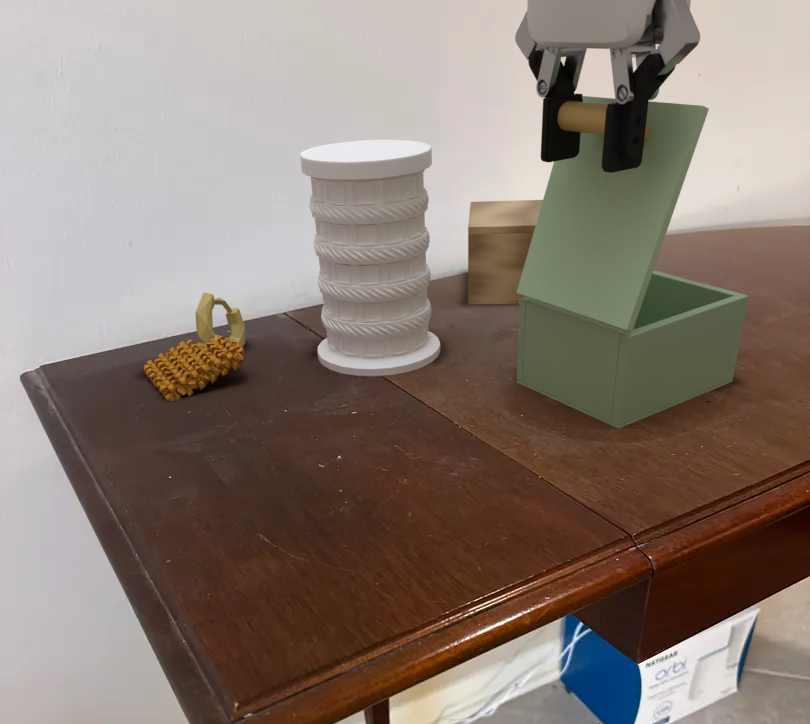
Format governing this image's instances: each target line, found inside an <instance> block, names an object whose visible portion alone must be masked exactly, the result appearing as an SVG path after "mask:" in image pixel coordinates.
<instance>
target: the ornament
mask: <svg viewBox="0 0 810 724" xmlns="http://www.w3.org/2000/svg"><path fill="white" fill-rule="evenodd" d="M215 305H218V306H219V305H220V306H222V307H223V308H224V309H225V311H226V312H225V317H226V322H227V325H228V328H229V332H230V335H229V337H227V336H226V337H225V336H223V335H219V334H217V333H215V332H214V323H213V322H214V321H213V309H214V307H215ZM194 314H195V325H196V326H195V327H196V333H197V335H198V337H199V339H200V340H199V341H198V342H197V343H196V342H195V341H194V340H192V339H191V338H189V339H188V340H187V341H186V342H185V341H184V340H182V341H180V342H179V343H178V345H177V346H176V347H175V348H176V349H175V348H174V347H173V346H171V348H170V349H169V350H168V352H165V354H163V353H159V354H157V356H158V358H155V360H154V362H153V360H152V359H149V360H147V362H146V364H144V365H143V370H144V374H145V376H146V377H147V378H148V379H149V380H150V382H151V383H152V384H153V386H154V387H156V388H157V389H158V391H159V393H161V394H162V396H163V397H164V399H165V401H166V402H174V401H175V400H182V397H181V396H186V395H187V396H188V397H191V396H192V395H193V394H194V391H195V390H201V391H202V390H203V389H204V388H205V387H206V386H207V385H208V383H209V382H211V383H212V384H214V383H215V382H216V381H217V380H218V378H219V376H220V375H221V376H222V377H224V376H226V375H228V374H229V372H230V370H231V369H232V370H234V371H236V370H237V369H238V368H240V366H241V365H242V364H243V362H244V356H245V352H244V347H245V345H246V325H245V322H244V319H243V316H242V314H241V310H240V308H238V307H234V308H231V306H230V305H229V304H228V303H227V301H226V300H225V299H223V298H220V297H217V298H215V295H214V293H209V292H203V293H202V295H201V298H200V301H199V302H198V306H197V308H196V310H195V313H194Z"/></svg>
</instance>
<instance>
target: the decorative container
mask: <svg viewBox="0 0 810 724" xmlns="http://www.w3.org/2000/svg"><path fill="white" fill-rule="evenodd" d="M432 149H433V148H432V146H431V144H428V143H427V142H423V141H417V140H407V139H366V140H365V139H364V140H351V141H342V142H334V143H328V144H322V145H318V146H314V147H310V148H308V149H305V150H303V151H301V152H300V156H299V157H300V166H301V167H300V168H301V173H302V174H304V175H305V176H307V177H310V185H311V193H312V194H311V195H310V199H309V210H310V213H311V216H312V218H314V225H315V234H314V240H313V248H314V251H315V255H316V256H317V257H318V263H319V271H318V275H317V286H318V288H319V292H320V293H321V294H322V301H323V305H322V306H321V314H320V318H321V319H320V320H321V322H322V325H323V327H324V328H325V331H326V337H325V338H324V339H323V340H322V341H320V343H319V345H318V346H317V359H318V361H319V362H320V364H321V365H322V366H323V367H324V368H326V369H329V370H330V371H332V372H336V373H338V374H344V375H350V376H356V377H381V376H393V375H399V374H404V373H409V372H412V371H415V370H418V369H419V370H420V369H421V368H423V367H425V366H427V365H429V364H431V363H432V362H434V361H436V359H438V357H439V355H440V353H441V342H440V338H439V337H438V336H437V335H436V334H435V333H433V332H431V331H429V323H430V321H431V319H432V317H431V316H432V314H433V313H432V311H433V309H432V304H431V302H430V299H429V298H428V288H429V286H430V284H431V280H432V279H431V277H432V274H431V270H430V267H429V265H428V263H427V251H428V249H429V248H430V245H429V244H430V241H431V240H430V238H431V237H430V233H429V229H428V228H427V227H428V226H426V219H425V218H426V216H425V215H426V214H425V213H426V212H427V210H428V206H429V194H428V191H427V189H426V188H425V184H424V181H425V180H424V173H425V170H427V169H429V168H430V167H431V166H432V165H433V153H432V152H433V150H432Z"/></svg>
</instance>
